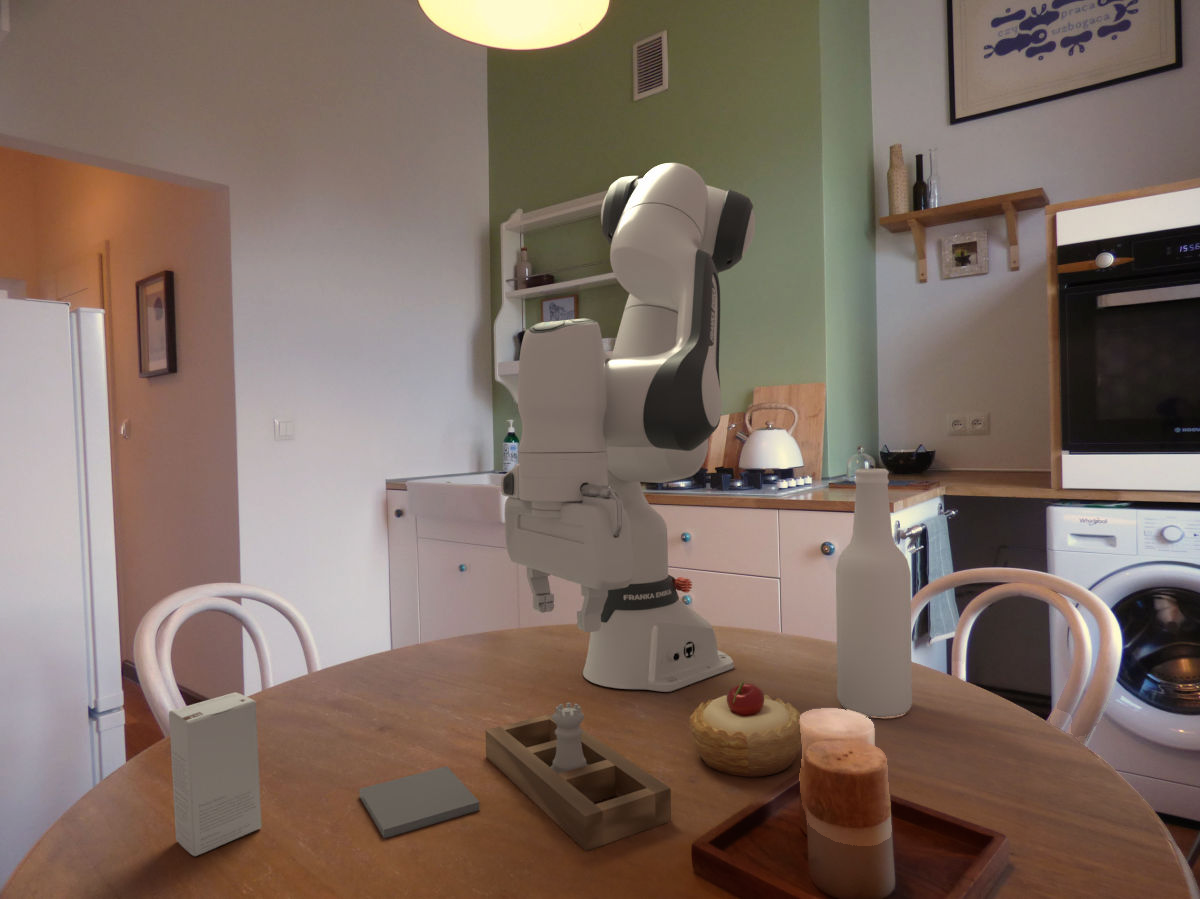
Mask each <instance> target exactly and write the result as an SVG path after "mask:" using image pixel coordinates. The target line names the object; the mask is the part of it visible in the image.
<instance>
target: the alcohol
mask: <svg viewBox="0 0 1200 899" xmlns="http://www.w3.org/2000/svg"><path fill="white" fill-rule="evenodd" d="M889 473H890V472H889V470H888V469H886V468H857V469H856V470H855V471H854V474H855V479H854V483H855V496H854V497H855V498H854V500H855V501H854V511H853V524H852V525H853V526H852V536H851V538H850V541H849V544H847V545H846V547H845V548H844V549H843V550H842V551H841V554H839V556H838V560H837V564H836V567H835V592H836V593H835V597H836V598H835V599H836V600H835V601H836V602H835V603H836V605H835V606H836V607H835V608H836V612H835V613H836V684H837V688H836V690H837V692H836V693H837V694H836V695H837V696H836V697H837V700H838V701H839V704H840V705H841V706H843V707H842V708H843V709H844V708H845V709H850V710H853V711H856V712H860V713H862V714H865V715H867V716H869V717H870V718H869V719H873V718H872V717H871V716H877V717H887V716H888V717H889V716H897V715H901V714H904V713H906V712H907V711H908V712H909V710H910V709H911V707H912V705H913V701H912V700H913V699H912V698H913V689H912V688H913V687H912V686H913V682H912V678H913V676H912V674H913V672H912V591H911V590H912V588H911V587H912V584H911V583H912V580H911V578H912V577H911V576H912V575H911V569H910V565H909V561H908V558H907V557H906V556H905V554H904V553H903V551H902V550H901V549H900V548H899V547H898V545H896V542H895V539H894V537H893V529H892V518H891V508H890V507H891V506H890V496H889V486H888V484H889V483H890V480H889V478H888V476H889ZM845 709H844V710H845ZM908 712H907V713H908ZM907 713H906V714H907Z"/></svg>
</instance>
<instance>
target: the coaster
mask: <svg viewBox="0 0 1200 899" xmlns="http://www.w3.org/2000/svg"><path fill="white" fill-rule="evenodd" d="M358 793H359V799H360V800H361V801H362V804H363V806H364V807H365V808H366V810H367V812H368V813H369V815H370V817H371V818H372V821H373V823H374V825H375V826H376V827H377V829H378V831H379V832H380V835H381V836H382V838H383V839H388V838H390V837H394V836H397V835H401V834H404V833H408V832H411V831H415V830H417V829H421V828H424V827H428V826H430V825H434V824H437V823H441V822H445V821H448V820H451V819H454V818H458V817H461V816H464V815H468V814H471V813H475V812H477V811H480V810H481V809H480V801H479V799H477V797H476V796H475V795H474V794H473V793H472V792H471V791H470V790H469V788H467V786H466V785H465V783H463V782H462V780H460V778H458V776H456V774H455V773H454V772H453V771H452V770H451V769H450V767H448V766H447V765H446V766H442V767H438V768H434V769H431V770H425V771H423V772H420V773H416V774H412V775H408V776H403V777H400V778H397V779H392V780H389V781H384V782H381V783H380V782H379V783H378V784H373V785H369V786H365V787H362V788H359V792H358Z"/></svg>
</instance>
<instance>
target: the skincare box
mask: <svg viewBox="0 0 1200 899" xmlns="http://www.w3.org/2000/svg"><path fill="white" fill-rule="evenodd" d="M168 721H169V722H168V723H169V724H168V725H169V739H170V755H171V770H172V771H171V773H172V774H171V775H172V789H173V790H172V791H173V810H174V813H173V814H174V826H175V830H174V831H175V840H176V841H177V843H178V844H179V845H180V847H182V848H183V849H184V850H185V851H187V853H189V855H191V856H193V857H197V856H198V857H199V855H203V854H205V853H207V852H209V851H212V850H214V849H216V848H218V847H220V846H222V845H223V846H224V845H226V844H227V843H229V842H233V841H235V840H237V839H239V838H242V837H244V836H246V835H248V834H251V833H253V832H255V831H258V830H259V829H261V828H262V810H261V808H262V807H261V785H260V784H261V783H260V764H259V763H260V762H259V760H260V759H259V744H258V743H259V741H258V740H259V738H258V725H257V724H258V723H257V703H256V701H255V700H254V699H253V698H250V697H248V696H246V695H244V694H241V693H239V692H236V691H235V692H231V693H228V694H225V695H222V696H221V695H220V696H217V697H213V698H210V699H207V700H206V699H205V700H204V701H200V702H197V703H192V704H189V705H186V706H182V707H179V708H175V709H172V710H169V712H168Z"/></svg>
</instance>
